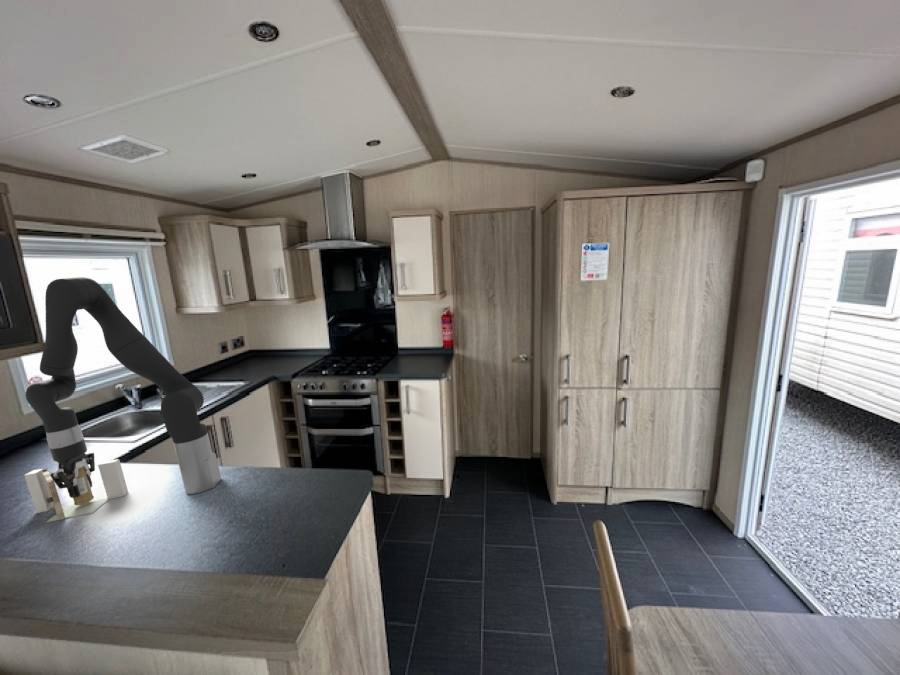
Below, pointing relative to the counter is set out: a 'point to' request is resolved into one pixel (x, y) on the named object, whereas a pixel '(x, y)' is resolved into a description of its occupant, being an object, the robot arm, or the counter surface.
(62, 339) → the robot arm
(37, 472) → the hinge post
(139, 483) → the counter surface
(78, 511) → the mat
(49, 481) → the door
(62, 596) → the counter surface
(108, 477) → the wall
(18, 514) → the counter surface
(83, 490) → the sprinkles bottle
